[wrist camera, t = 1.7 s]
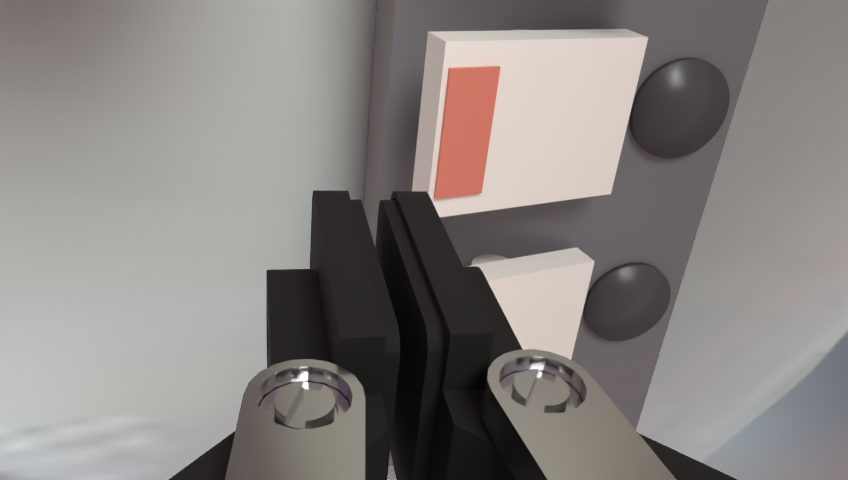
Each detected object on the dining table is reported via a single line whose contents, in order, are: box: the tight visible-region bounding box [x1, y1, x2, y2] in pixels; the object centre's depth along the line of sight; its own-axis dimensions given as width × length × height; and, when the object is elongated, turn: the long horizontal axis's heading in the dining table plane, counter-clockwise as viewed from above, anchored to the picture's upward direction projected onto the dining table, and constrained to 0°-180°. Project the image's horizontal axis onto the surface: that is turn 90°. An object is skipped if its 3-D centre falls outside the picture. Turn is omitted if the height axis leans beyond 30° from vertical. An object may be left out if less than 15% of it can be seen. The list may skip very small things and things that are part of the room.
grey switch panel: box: [363, 0, 768, 465], centre depth 30 cm, size 14×36×4 cm, turn 175°
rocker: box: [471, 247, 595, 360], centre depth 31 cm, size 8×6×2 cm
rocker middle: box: [412, 29, 649, 217], centre depth 26 cm, size 8×6×2 cm
